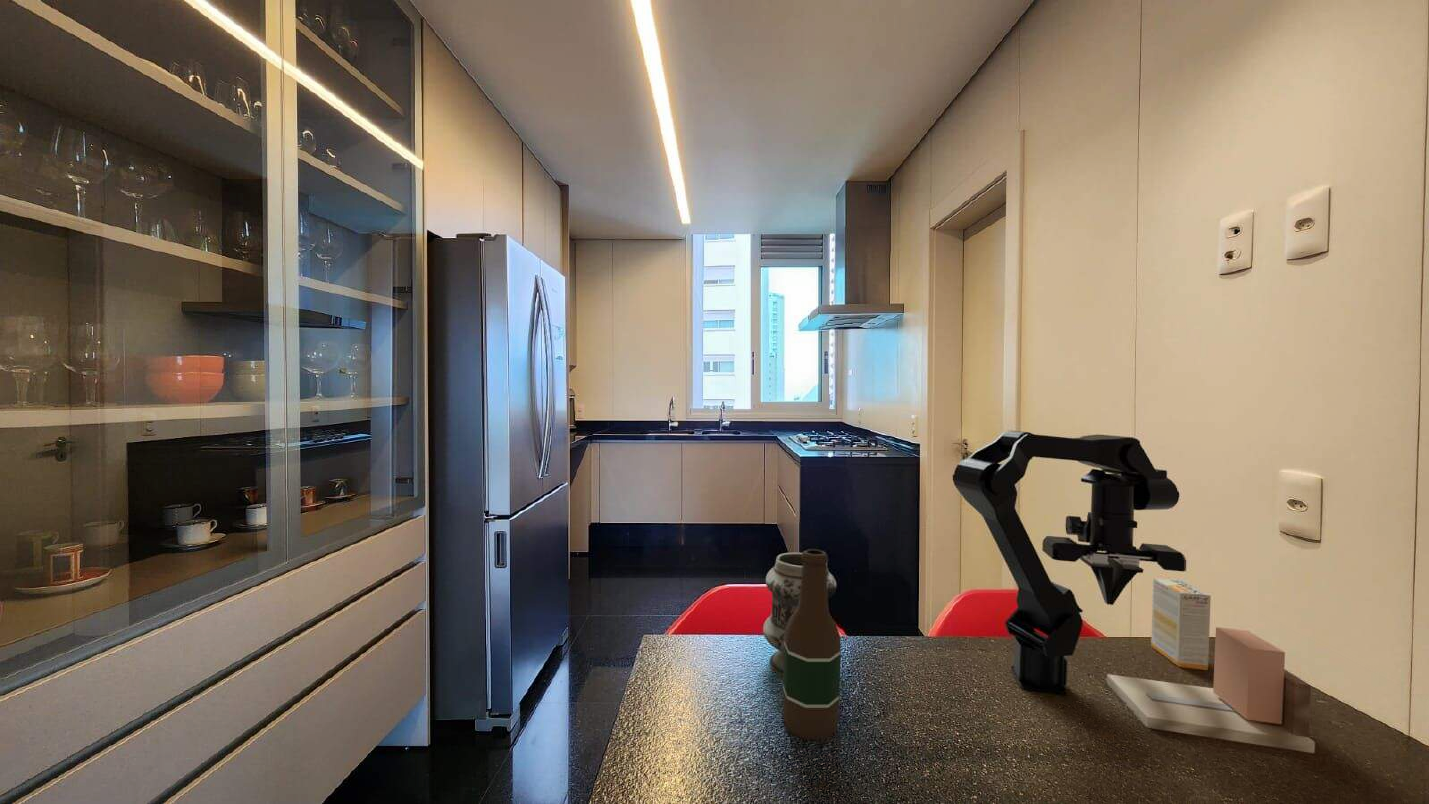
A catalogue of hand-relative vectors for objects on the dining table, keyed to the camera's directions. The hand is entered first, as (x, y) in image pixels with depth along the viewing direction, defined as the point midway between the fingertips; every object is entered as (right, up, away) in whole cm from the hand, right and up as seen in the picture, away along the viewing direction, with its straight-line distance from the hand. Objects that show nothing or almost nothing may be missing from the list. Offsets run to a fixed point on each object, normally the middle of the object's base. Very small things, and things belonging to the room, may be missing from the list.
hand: (1108, 603), depth 89 cm
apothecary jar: (-52, -11, +1) cm, 53 cm away
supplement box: (+18, -13, +7) cm, 23 cm away
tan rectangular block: (+11, -10, -12) cm, 19 cm away
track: (+6, -12, -10) cm, 17 cm away
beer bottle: (-53, -11, -15) cm, 56 cm away
